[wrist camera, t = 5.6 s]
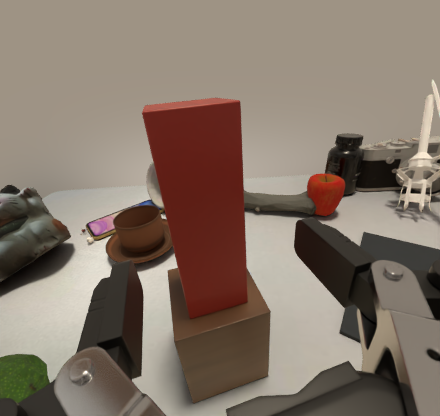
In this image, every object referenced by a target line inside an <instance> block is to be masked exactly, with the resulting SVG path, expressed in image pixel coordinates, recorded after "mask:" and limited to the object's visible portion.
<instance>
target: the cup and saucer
mask: <svg viewBox="0 0 440 416" xmlns="http://www.w3.org/2000/svg"><path fill="white" fill-rule="evenodd" d="M113 225H114V227H115V230H116V233H115V234H113V235H112V236H111V238H110V239H109V240H108V242H107V244H106V253H107V254H108V256H109V257H110V258H111V259H113V260H114V261H117V262H123V261H127V260H132V261H133V262H134V264H135V263H142V262H146V261H149V260H152V259H155V258H157V257H159V256H161V255H162V254H164V253H165V252H167V251H168V250H169V249H170V248H171V247H172V246H173V244H172V240H171V235H170V231H169V227H168V223H167V220H166V219H162V218H161V213H160V210H159V208H158V207H156V206H153V205H140V206H135V207H131V208H128V209H126V210H124V211H122V212H120V213H119V214H118V215H117V216H116V217H115V218H114V219H113Z"/></svg>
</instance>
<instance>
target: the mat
mask: <svg viewBox="0 0 440 416" xmlns="http://www.w3.org/2000/svg"><path fill="white" fill-rule="evenodd" d="M360 247H361V248H362V249H363V250H365V251H366V252H368V253H369V254H370V255H372V256H373V257H374V258H376V259H377V260H378V261H379V260H389V261H393V262H397V263H399V264H401V265H403V266H405V267H407V268H408V269H410V270H430V268H431V266H432V264H433V262H434V261H436V260H440V250H439V249H435V248H430V247H426V246H422V245H418V244H413V243H409V242H405V241H400V240H396V239H392V238H387V237H383V236H379V235H374V234H370V233H366V232H364V233H363V237H362V241H361V245H360ZM357 310H358V308H357V307H356V306H355V305H352V306H349V307H346V308H345V313H344V317H343V321H342V325H341V329H340V333H341V334H343V335H345V336H348V337H350V338H352V339H354V340H356V341H358V342H361V340H360V333H359V325H358V318H357Z"/></svg>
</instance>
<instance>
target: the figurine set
mask: <svg viewBox="0 0 440 416" xmlns="http://www.w3.org/2000/svg"><path fill="white" fill-rule="evenodd" d="M82 232H83V233H84V232H85V229H84V230H83V229H82ZM81 235H82V234H81ZM85 235H86V234H85ZM93 240H94V239H93V237H88V238H87V242H89V243H91V242H93Z"/></svg>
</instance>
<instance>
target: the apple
mask: <svg viewBox="0 0 440 416" xmlns="http://www.w3.org/2000/svg"><path fill="white" fill-rule="evenodd" d="M344 190H345V181H344V179H342V178H340V177H339V176H335V175H331V174H315V175H313V176H311V177H310V179H309V181H308V185H307V193H308V197H309V198H311V199H312V200H313V202H314V204H315V205H316V208H317V209H316V211H315V212H314V214H317V215H321V216H328V215H330V214H332V213H333V212H334V210H335V209H336V208H337V206H338V204H339V202H340V201H341V199H342V197H343V194H344Z"/></svg>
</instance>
